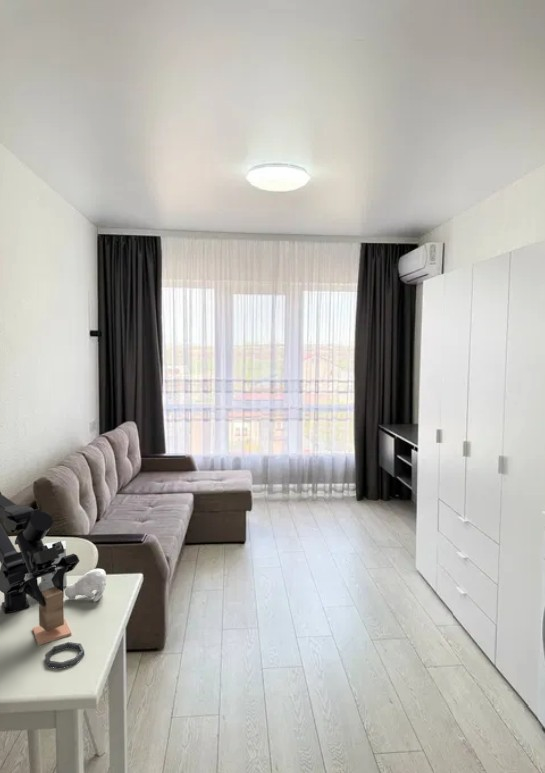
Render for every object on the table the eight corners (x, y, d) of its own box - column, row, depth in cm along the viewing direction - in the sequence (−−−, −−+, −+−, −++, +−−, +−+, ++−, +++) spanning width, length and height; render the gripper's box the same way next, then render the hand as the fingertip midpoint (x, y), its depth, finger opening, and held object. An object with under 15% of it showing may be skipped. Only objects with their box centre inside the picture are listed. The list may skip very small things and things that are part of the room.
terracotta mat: (32, 630, 132) (32, 627, 132) (64, 620, 137) (64, 618, 137) (38, 645, 126) (38, 642, 126) (71, 634, 130) (71, 632, 130)
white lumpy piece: (103, 573, 147) (60, 580, 144) (107, 600, 148) (64, 608, 145) (106, 563, 153) (64, 570, 151) (109, 590, 154) (68, 597, 151)
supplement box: (41, 592, 153) (40, 552, 152) (41, 581, 160) (40, 543, 159) (67, 587, 156) (66, 548, 155) (66, 577, 162) (65, 539, 162)
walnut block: (39, 625, 131) (38, 592, 130) (55, 618, 134) (54, 586, 134) (47, 631, 128) (46, 598, 127) (63, 624, 131) (63, 591, 131)
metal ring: (43, 654, 122) (43, 649, 122) (78, 643, 127) (78, 638, 127) (50, 672, 115) (49, 667, 115) (87, 660, 120) (87, 655, 120)
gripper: (5, 545, 125) (26, 602, 118) (75, 525, 139) (97, 575, 133) (-7, 566, 130) (13, 622, 124) (61, 545, 145) (82, 594, 138)
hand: (53, 602), depth 130 cm, fingers closed on walnut block, 4 cm apart
